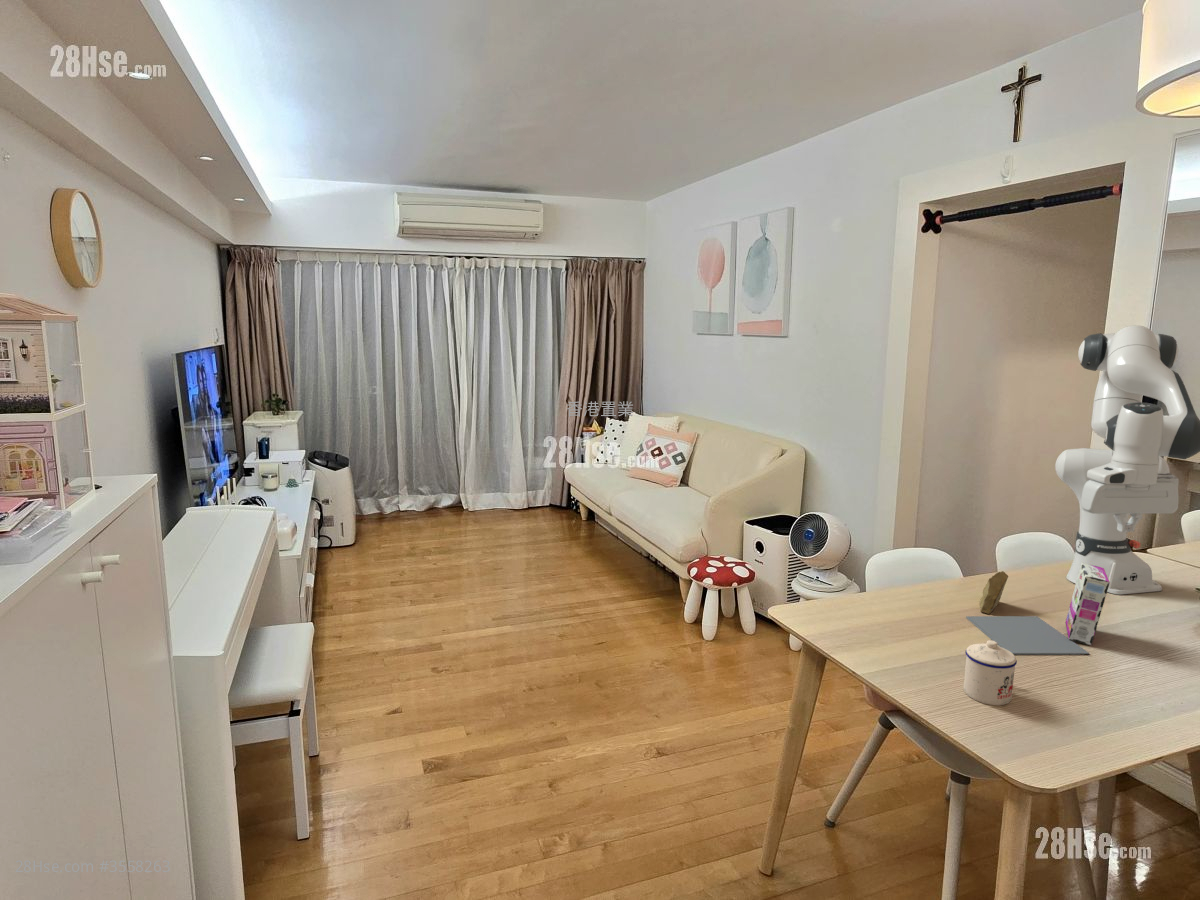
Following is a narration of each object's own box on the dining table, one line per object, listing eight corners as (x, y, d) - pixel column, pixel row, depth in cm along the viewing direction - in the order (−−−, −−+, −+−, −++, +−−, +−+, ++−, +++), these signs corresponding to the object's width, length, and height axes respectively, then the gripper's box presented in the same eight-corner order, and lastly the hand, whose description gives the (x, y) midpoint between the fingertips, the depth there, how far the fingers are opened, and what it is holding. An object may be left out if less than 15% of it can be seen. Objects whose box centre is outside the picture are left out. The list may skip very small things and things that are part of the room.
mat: (1036, 617, 177) (1037, 616, 177) (1089, 654, 157) (1089, 653, 157) (965, 617, 178) (966, 616, 177) (1009, 654, 158) (1009, 653, 158)
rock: (997, 611, 176) (1024, 599, 179) (979, 580, 179) (1005, 569, 182) (967, 621, 185) (993, 610, 189) (950, 591, 188) (976, 581, 192)
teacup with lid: (1006, 712, 135) (1012, 657, 133) (956, 695, 141) (961, 642, 139) (1020, 688, 144) (1026, 635, 142) (972, 673, 150) (977, 623, 148)
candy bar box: (1093, 646, 161) (1110, 582, 157) (1068, 640, 164) (1084, 576, 160) (1088, 628, 171) (1104, 567, 167) (1064, 622, 173) (1080, 561, 169)
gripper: (1168, 470, 162) (1160, 527, 165) (1080, 470, 163) (1073, 527, 165) (1190, 476, 156) (1181, 534, 159) (1098, 476, 157) (1091, 535, 159)
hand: (1125, 531), depth 162 cm, fingers closed
